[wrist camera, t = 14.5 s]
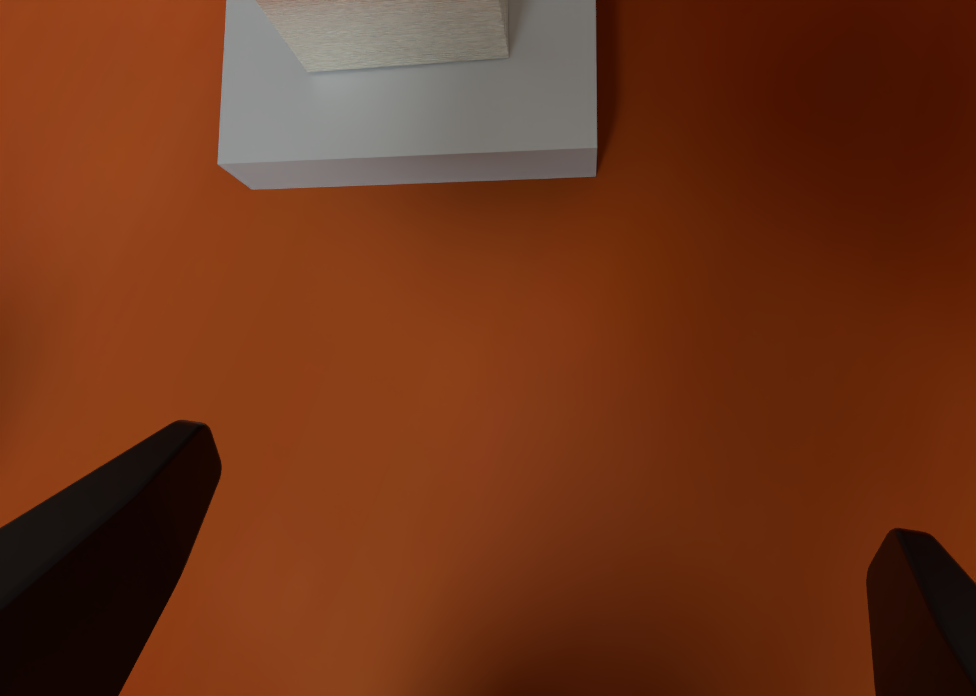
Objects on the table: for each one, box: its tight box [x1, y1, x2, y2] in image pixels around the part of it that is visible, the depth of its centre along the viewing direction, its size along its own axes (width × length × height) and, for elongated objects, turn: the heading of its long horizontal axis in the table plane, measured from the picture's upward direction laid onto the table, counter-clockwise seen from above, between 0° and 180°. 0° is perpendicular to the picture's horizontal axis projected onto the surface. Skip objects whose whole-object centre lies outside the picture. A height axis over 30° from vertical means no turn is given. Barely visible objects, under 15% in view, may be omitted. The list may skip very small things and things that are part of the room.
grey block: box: [218, 0, 597, 190], centre depth 25 cm, size 12×12×3 cm
